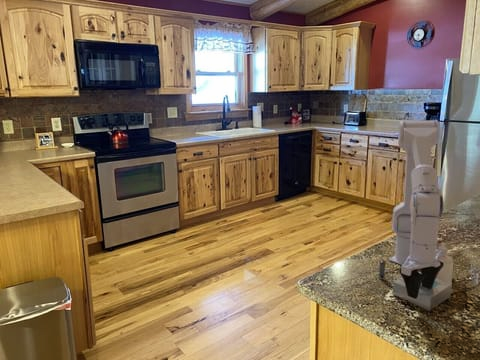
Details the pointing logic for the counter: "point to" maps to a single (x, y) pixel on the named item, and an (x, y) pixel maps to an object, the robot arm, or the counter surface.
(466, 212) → the counter surface
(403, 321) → the counter surface
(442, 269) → the eye dropper bottle
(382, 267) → the pin
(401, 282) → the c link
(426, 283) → the robot arm
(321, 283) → the counter surface
